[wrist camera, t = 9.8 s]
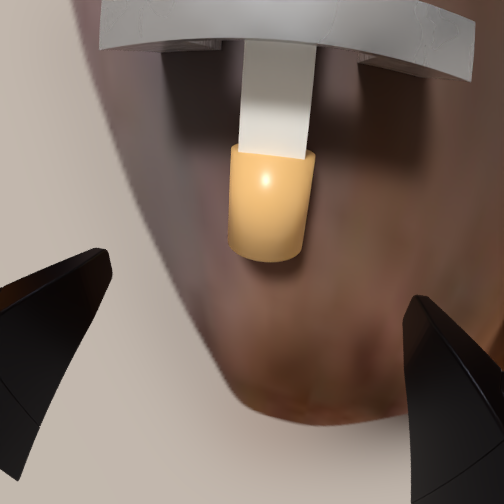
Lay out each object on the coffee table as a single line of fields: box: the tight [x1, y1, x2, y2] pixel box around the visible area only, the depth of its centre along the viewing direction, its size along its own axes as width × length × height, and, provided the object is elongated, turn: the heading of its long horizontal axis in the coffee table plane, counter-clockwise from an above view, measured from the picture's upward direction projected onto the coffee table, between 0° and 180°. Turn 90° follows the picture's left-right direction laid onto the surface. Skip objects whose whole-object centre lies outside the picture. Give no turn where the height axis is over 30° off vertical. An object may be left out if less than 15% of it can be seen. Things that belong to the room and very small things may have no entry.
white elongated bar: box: [228, 41, 317, 262], centre depth 10 cm, size 16×3×3 cm, turn 176°
